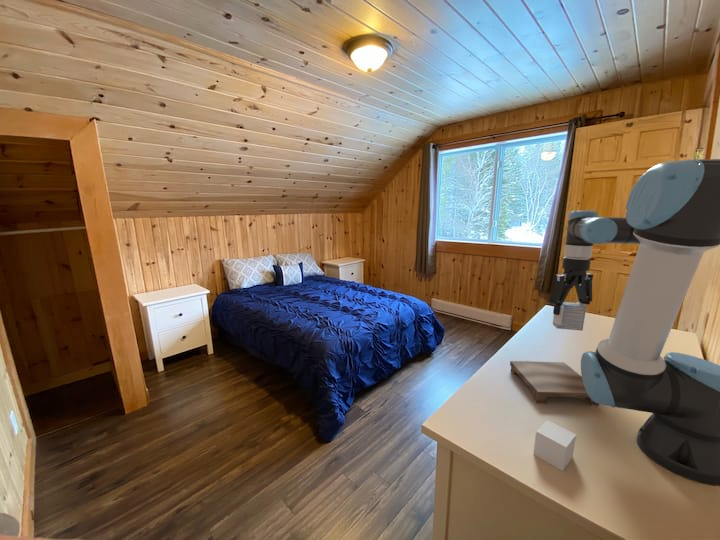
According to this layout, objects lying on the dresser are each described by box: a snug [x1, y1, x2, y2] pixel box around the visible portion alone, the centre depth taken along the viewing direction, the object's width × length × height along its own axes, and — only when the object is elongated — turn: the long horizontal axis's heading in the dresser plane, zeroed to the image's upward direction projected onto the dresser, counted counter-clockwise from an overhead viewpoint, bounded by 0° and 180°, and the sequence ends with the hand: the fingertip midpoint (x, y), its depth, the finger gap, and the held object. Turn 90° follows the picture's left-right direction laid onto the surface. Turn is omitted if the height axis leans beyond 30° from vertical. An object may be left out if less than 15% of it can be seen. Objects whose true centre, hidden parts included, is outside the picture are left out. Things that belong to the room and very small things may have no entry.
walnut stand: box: [509, 360, 600, 406], centre depth 96 cm, size 18×18×4 cm
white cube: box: [533, 420, 577, 472], centre depth 69 cm, size 6×6×6 cm
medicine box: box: [552, 301, 587, 331], centre depth 105 cm, size 8×4×9 cm, turn 75°
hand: (567, 322), depth 105 cm, fingers closed on medicine box, 9 cm apart
